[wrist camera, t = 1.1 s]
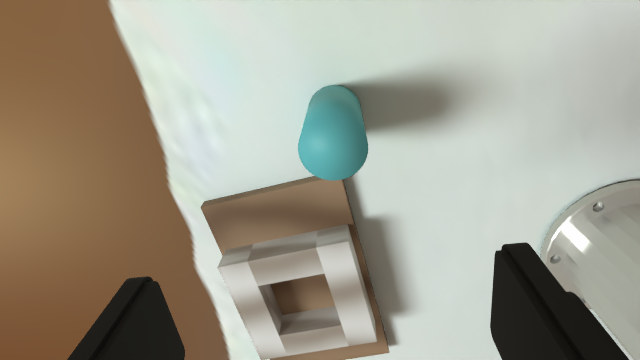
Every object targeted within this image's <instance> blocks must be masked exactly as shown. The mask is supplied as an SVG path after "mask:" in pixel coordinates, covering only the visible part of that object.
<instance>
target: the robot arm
mask: <svg viewBox="0 0 640 360" xmlns="http://www.w3.org/2000/svg"><path fill="white" fill-rule="evenodd" d="M589 309H593V310H594V312H595V313H596V314H597V315H598V317H599V318H600V319H601V320H602V322H603V323H604V324H605V325H606V326H607V328H608V329H609V330H610V331H611V333H612V334H613V335H614V336H615V338H616V339H617V340H618V341H619V342H620V344H621V345H622V346H623V347H624V349H625V350H626V351H627V352H628V354H629V355H630V356H631V357H632V359H633V360H640V181H628V182H623V183H617V184H613V185H610V186H607V187H604V188H601V189H599V190H597V191H595V192H593V193H591V194H589V195H587V196H585V197H583V198H582V199H580V200H579V201H577V202H576V203H574V204H573V205H571V206H570V207H569V208H568V209H567V210H566V211H565V212H564V213H562V214H561V215H560V216H559V217H558V219H557V220H556V221H555V223H554V224H553V225H552V226H551V228H550V229H549V231H548V233H547V235H546V237H545V239H544V242H543V245H542V249H541V256H540V258H539V256H538V255H537V254H536V252H535V251H534V250H533V249H532V247H531V246H530V245H529V244H528V243H515V244H504V245H503V246H502V249H501V250H500V251H496V253H495V261H494V277H493V293H492V308H491V324H490V328H491V334H492V337H493V340H494V342H495V345H496V347H497V349H498V351H499V353H500V356H501V358H502V360H629V359H628V358H627V356H626V355H625V354H624V353H623V351H622V350H621V349H620V348H619V346H618V345H617V344H616V343H615V341H614V340H613V339H612V338H611V336H610V335H609V334H608V333H607V331H606V330H605V329H604V328H603V327H602V325H601V324H600V323H599V322H598V320H597V319H596V318H595V317H594V315H593V314H592V313H591V312H590V310H589ZM184 357H185V349H184V346H183V343H182V341H181V338H180V336H179V333H178V331H177V328H176V326H175V323H174V321H173V318H172V316H171V313H170V311H169V308H168V306H167V303H166V301H165V298H164V296H163V293H162V291H161V288H160V286H159V284H158V282H156V281H153V280H152V278H151V277H137V278H129V279H127V280H126V281H125V282H124V283H123V285H122V286H121V288H120V289H119V290H118V292H117V293H116V294H115V296H114V297H113V298H112V300H111V301H110V303H109V304H108V305H107V307H106V308H105V309H104V311H103V312H102V313H101V315H100V316H99V317H98V319H97V320H96V321H95V323H94V324H93V325H92V327H91V328H90V330H89V331H88V332H87V334H86V335H85V337H84V338H83V339H82V340H81V342H80V343H79V344H78V346H77V347H76V349H75V350H74V351H73V353H72V354H71V355H70V357H69V358H68V360H184Z"/></svg>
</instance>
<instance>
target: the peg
mask: <svg viewBox="0 0 640 360" xmlns="http://www.w3.org/2000/svg"><path fill="white" fill-rule="evenodd" d="M298 152H299V157H300V159H301V162H302V163H303V165H304V166H305V168H306V169H307V170H308V171H309V172H310V173H312V174H313V175H315V176H316V177H319V178H321V179H324V180H331V181H335V180H342V179H345V178H348V177H350V176H352V175H354V174H355V173H356V172H357V171H358V170H359V169H360V168H361V167H362V166H363V164H364V162H365V160H366V158H367V154H368V142H367V137H366V132H365V127H364V121H363V116H362V111H361V106H360V103H359V100H358V98H357V97H356V95H355V94H354V93H353V92H352V91H351V90H349V89H348V88H346V87H343V86H339V85H330V86H326V87H324V88H322V89H320V90H318V91H317V92H316V93H315V94H314V95H313V97H312V98H311V100H310V103H309V106H308V110H307V114H306V117H305V121H304V124H303V128H302V132H301V135H300V139H299V144H298Z"/></svg>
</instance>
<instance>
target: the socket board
mask: <svg viewBox="0 0 640 360" xmlns="http://www.w3.org/2000/svg"><path fill="white" fill-rule="evenodd" d="M201 209H202V211H203V214H204V216H205V218H206V220H207V222H208V225H209V227H210V229H211V231H212V233H213V236H214V238H215V240H216V242H217V244H218V247H219V249H220V251H221V253H222V255H223V257H222V259H221V261H220V263H219V266H218V269H219V272H220V274H221V276H222V278H223V280H224V282H225V284H226V286H227V289H228V291H229V293H230V295H231V297H232V299H233V301H234V303H235V306H236V308H237V310H238V312H239V314H240V316H241V318H242V320H243V323H244V325H245V327H246V329H247V331H248V333H249V335H250V338H251V340H252V342H253V344H254V346H255V348H256V350H257V352H258V355H259V357H260V359H261V360H265V359H270V360H345V359H352V358H358V357H365V356H371V355H378V354H384V353H389V348H388V343H387V339H386V336H385V332H384V328H383V325H382V321H381V317H380V314H379V310H378V306H377V303H376V299H375V295H374V292H373V288H372V284H371V281H370V277H369V273H368V270H367V266H366V262H365V259H364V255H363V251H362V248H361V244H360V241H359V237H358V233H357V230H356V226H355V222H354V219H353V215H352V211H351V208H350V204H349V200H348V197H347V193H346V189H345V186H344V182H343V179H342V180H335V181H331V180H324V179H321V178H319V177H316V176H313V177H309V178H305V179H300V180H296V181H292V182H287V183H283V184H279V185H274V186H270V187H266V188H261V189H257V190H253V191H248V192H244V193H240V194H235V195H231V196H227V197H222V198H218V199H214V200H209V201H205V202H204V203H203V205H202V206H201Z"/></svg>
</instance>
